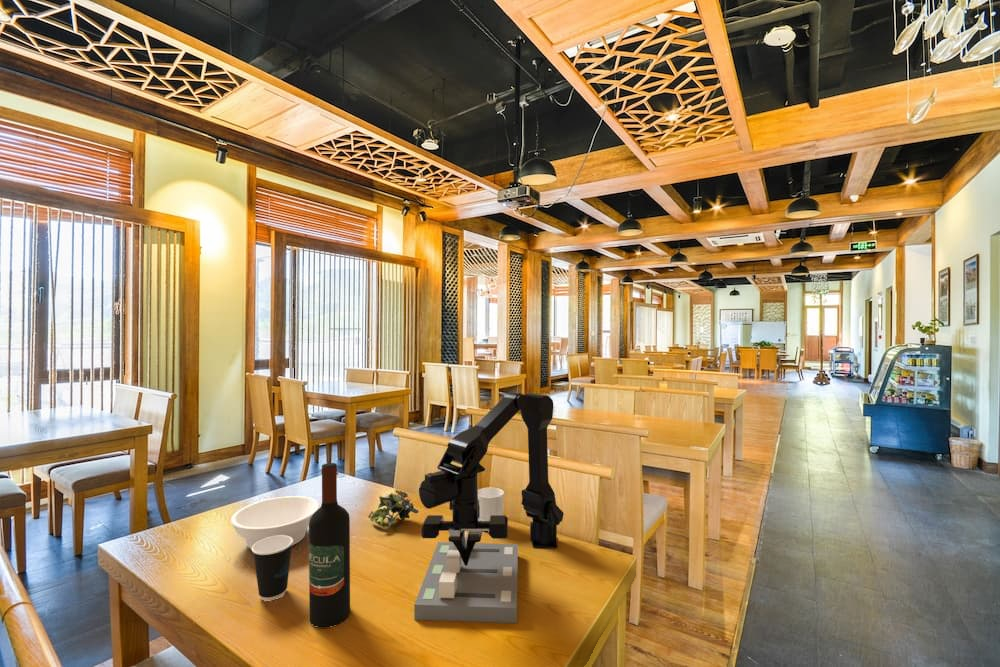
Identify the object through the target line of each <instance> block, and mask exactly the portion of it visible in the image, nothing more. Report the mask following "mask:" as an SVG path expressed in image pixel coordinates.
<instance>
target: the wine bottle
mask: <svg viewBox="0 0 1000 667" xmlns="http://www.w3.org/2000/svg"><path fill="white" fill-rule="evenodd" d="M320 471H321V472H320V473H321V474H320V475H321V505H320V506H319V509H318V510H317V511H316V512H315V513H314V514H313V515H312V517H311V518H310V521H309V526H308V573H309V574H308V577H309V579H308V580H309V581H308V584H309V585H308V587H309V589H308V590H309V592H308V593H309V596H308V597H309V598H308V599H309V607H308V609H309V610H308V611H309V623H310V622H311V623H310V625H311V624H313V625H314V626H318V627H329V628H331V627H330V626H334V625H336V626H339V625H340V624H341V622H342V623H343V622H345V621H346V620H347V619H348V618H349V616H350V615H351V548H350V547H351V544H350V543H351V538H350V537H351V536H350V535H351V534H350V532H351V531H350V528H351V525H350V522H351V521H350V514H349V512H348V511H347V510H346V509H345V507H343V506H341V505H340V504H338V500H337V497H338V492H337V491H338V490H337V489H338V488H337V487H338V479H337V476H338V475H337V474H338V466H337V463H335V462H327V463H323V464H321V470H320ZM313 625H312V626H313ZM314 626H313V627H314ZM334 627H335V626H334Z"/></svg>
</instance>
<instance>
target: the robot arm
mask: <svg viewBox="0 0 1000 667" xmlns="http://www.w3.org/2000/svg"><path fill="white" fill-rule="evenodd" d="M519 411H520V415H521V419H522V421H523V423H524V424H525V426H526V428H527V444H528V449H527V450H528V452H527V453H528V476H529V477H528V478H529V481H528V483H527V486H526V487H525V489H524V488H523V489H522V490H521V492H520V493H521V503H520V504H521V505H522V508H523V510H524V511H525V513H526V517H528V518H530V519H531V518H532V519H531V520H532V521H530V522H529V523H530V524H529V526H530V527H529V531H530V532H529V534H530V535H529V536H530V537H529V540H530V542H531V543H532V544H531V546H532V547H533V548H549V547H555V549H556V547H557V548H558V538H557V534H558V533H557V527H558V526H559V525H560V523H561V522H562V521H563V519H564V511H562V509H561V508H560V507H559V506H558V505H557V500H556V494H555V491H554V489H553V488H552V486H551V484H550V482H549V459H548V458H549V455H548V454H549V453H548V451H549V450H548V426H549V425H550V424H551V422H552V420H553V418H554V417H553V416H554V400H553V399H552V398H551V396H549V395H546V394H539V393H534V392H533V393H532V392H527V393H525V394H523V393H521V392H515V391H508V392H506V393H504V394H503V397H502V399H500V400H499V401H498V403H496V405H494V407H492V408H491V409H490V410H489V412H487V413H486V414H485V415H484V416H483V418H481V419H480V420H479V421H478V422H477V423H476V424H474V426H472V427H470V428H468V429H465V430H463V431H461V432H459V433H458V434H456V435H455V436H453V437H452V438H451V439H450V441H448V443H447V445H446V446H447V448H446V450H445V451H444V454H443V456H442V458H441V459H440V461H439V463H438V465H437V470H439V471H435V472H429V473H426V474H424V480H423V481H422V482H421V483H420V486H419V488H418V494H419V499H420V502H421V504H422V505H423V507H424V508H426V509H428V510H429V509H433V508H436V507H440V506H441V505H444V504H447V503H449V510H450V511H452V520H444V515H443V514H442V515H439V514H438V515H437V514H436V515H435V514H434V515H433V514H432V515H430V514H429V515H427V516H426V517H425V518H424V521H423V523H422V524H421V532H420V533H421V538H422V539H436V538H437V537H438V536H439V535H440V531H442V532H443V531H444V532H445V531H447V532H448V535H449V536H448V539H447V540H448V542H453V543H454V545H455V546H456V548H457V550H458V551H459V553H460V556H461V558H462V560H463V562H464V564H465V566H467V565H468V561H469V558H470V554H471V551H472V549H473V547H474V545H475V543H481V541H482V534H483V532H484V531H489V532H488V533H489V534H488V535H489V536H490V537H491V538H492V539H500V540H501V539H507V538H508V531H509V519H508V517H507V516H506V515H505V514H503V515H491V516H490V521H478V518H479V517H480V506H479V500H478V490H479V487H478V486H479V484H478V482H479V480H478V474H480V473H482V472H485V471H486V468H485V467H484V466H482V464H480V462H481V461H482V460H483V459H484V457H485V455H486V454H487V452H488V449H489V444H490V442H491V441H492V440H493V439H494V437H495V436H496V435H497V434H498V433H500V431H501V430H502V429H503V428H504V427H505V426H506V425H507V424H508V423H509V422H510V421H511V420H512V419H513V417H514V416H516V414H517V413H519ZM452 462H453V463H456V464H458V465H461V466H458V465H455V464H453V463H452ZM465 532H467V545H466V542H465Z"/></svg>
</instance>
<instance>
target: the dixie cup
mask: <svg viewBox="0 0 1000 667" xmlns="http://www.w3.org/2000/svg"><path fill="white" fill-rule="evenodd" d="M292 544H293V539H292V538H291V537H290V536H285V535H277V536H271V537H267V538H264V539H262V540H260V541H258V542H256V543H255V544H254V545H253V546H252V549H250V550H251V552H252V553H253V559H254V567H255V569H254V570H255V576H256V582H257V590H258V595H259V596H260V600H261V599H263V600H267V601H268V600H273V599H276V598H279V597H281V596H282V595H283V594H284V593H285V592H287V589H288V583H289V573H290V563H291V557H292V556H291V554H292V547H293V545H292ZM285 594H286V593H285ZM281 598H282V597H281Z"/></svg>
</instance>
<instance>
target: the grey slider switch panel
mask: <svg viewBox="0 0 1000 667" xmlns="http://www.w3.org/2000/svg"><path fill="white" fill-rule="evenodd" d="M518 548H519V545H518V543H491V542H490V543H489V542H488V543H487V542H486V543H484V542H483V543H482V542H476V543H475V545H474V547H473V549H472V551H471V554H470V558H469V561H468V565H467V566H465V564H464V562H463V560H462V558H461V568H460V572H459V573H456V592H455V596H454V598H439V580H440V577H441V574H442V572H446V556H447V553H448V550H453V542H449V541H446V542H445V541H438V542H437V545H436V547H435V549H434V551H433V552H434V553H433V555H432V558H431V560H430V562H429V565H428V568H427V571H426V573H425V575H424V578H423V581H422V584H421V586H420V589H419V592H418V593H417V597H416V599H415V602H414V605H413V606H414V608H413V610H414V614H413V615H414V617H413V619H414V621H415V620H416V621H436V622H437V621H439V622H443V621H444V622H467V623H473V622H474V623H495V624H496V623H498V624H499V623H502V624H517V623H518V572H519V571H518V568H519V566H518V564H519V560H518V557H519V556H518V555H519V550H518Z"/></svg>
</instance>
